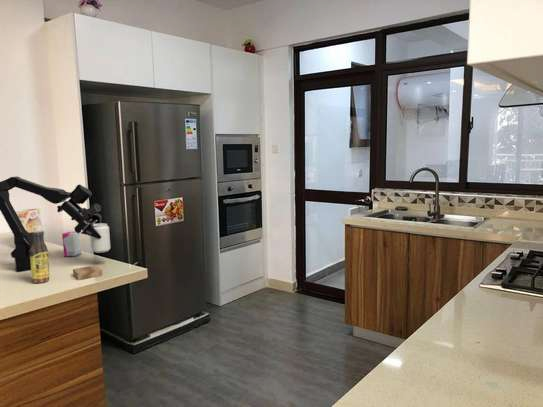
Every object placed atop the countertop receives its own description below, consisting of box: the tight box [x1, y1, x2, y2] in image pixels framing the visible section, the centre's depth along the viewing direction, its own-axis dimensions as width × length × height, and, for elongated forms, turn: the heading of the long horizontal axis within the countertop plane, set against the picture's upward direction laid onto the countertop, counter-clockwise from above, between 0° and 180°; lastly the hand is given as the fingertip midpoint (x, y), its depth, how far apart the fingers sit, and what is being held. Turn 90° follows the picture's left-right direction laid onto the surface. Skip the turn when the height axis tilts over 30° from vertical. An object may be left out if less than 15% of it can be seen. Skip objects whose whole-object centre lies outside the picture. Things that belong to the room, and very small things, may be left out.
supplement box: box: [61, 231, 82, 258], centre depth 205 cm, size 6×6×12 cm
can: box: [90, 222, 111, 254], centre depth 183 cm, size 8×8×12 cm
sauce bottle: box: [30, 230, 50, 284], centre depth 163 cm, size 7×6×20 cm
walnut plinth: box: [72, 264, 103, 281], centre depth 171 cm, size 9×9×2 cm
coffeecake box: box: [15, 208, 43, 233], centre depth 230 cm, size 15×7×20 cm, turn 179°
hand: (103, 236), depth 183 cm, fingers closed on can, 7 cm apart
